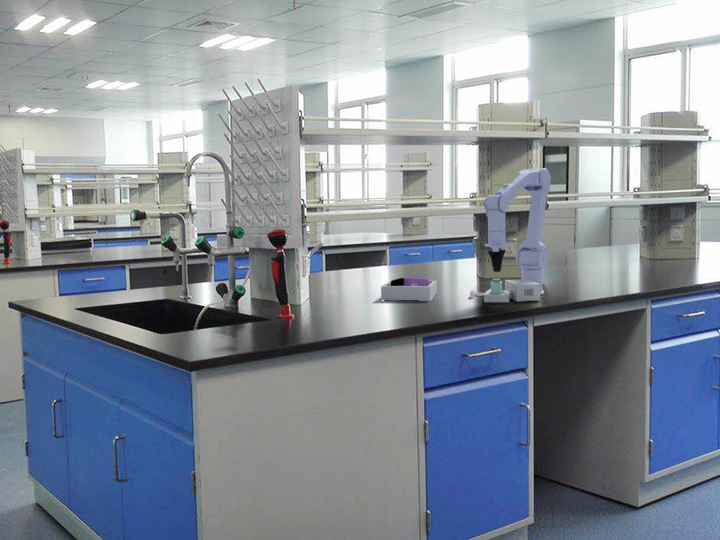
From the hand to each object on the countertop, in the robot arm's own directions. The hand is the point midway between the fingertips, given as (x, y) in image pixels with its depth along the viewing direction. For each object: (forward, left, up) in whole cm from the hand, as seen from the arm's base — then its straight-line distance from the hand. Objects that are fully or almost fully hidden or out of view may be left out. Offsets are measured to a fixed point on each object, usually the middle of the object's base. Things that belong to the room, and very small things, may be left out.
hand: (497, 271), depth 254 cm
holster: (-9, -6, -10) cm, 15 cm away
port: (0, 0, -10) cm, 10 cm away
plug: (0, 0, -10) cm, 10 cm away
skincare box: (+1, +10, -7) cm, 12 cm away
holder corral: (-7, -31, -10) cm, 33 cm away
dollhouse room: (-6, -31, -10) cm, 33 cm away
